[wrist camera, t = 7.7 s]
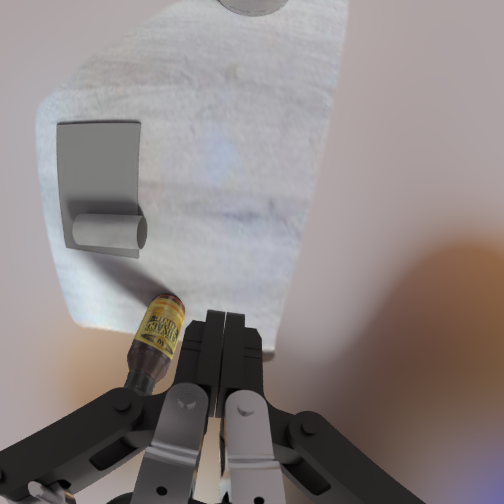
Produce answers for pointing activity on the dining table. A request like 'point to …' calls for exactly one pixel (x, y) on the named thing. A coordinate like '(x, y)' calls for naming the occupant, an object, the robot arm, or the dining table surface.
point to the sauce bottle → (154, 344)
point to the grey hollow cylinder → (110, 230)
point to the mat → (98, 175)
